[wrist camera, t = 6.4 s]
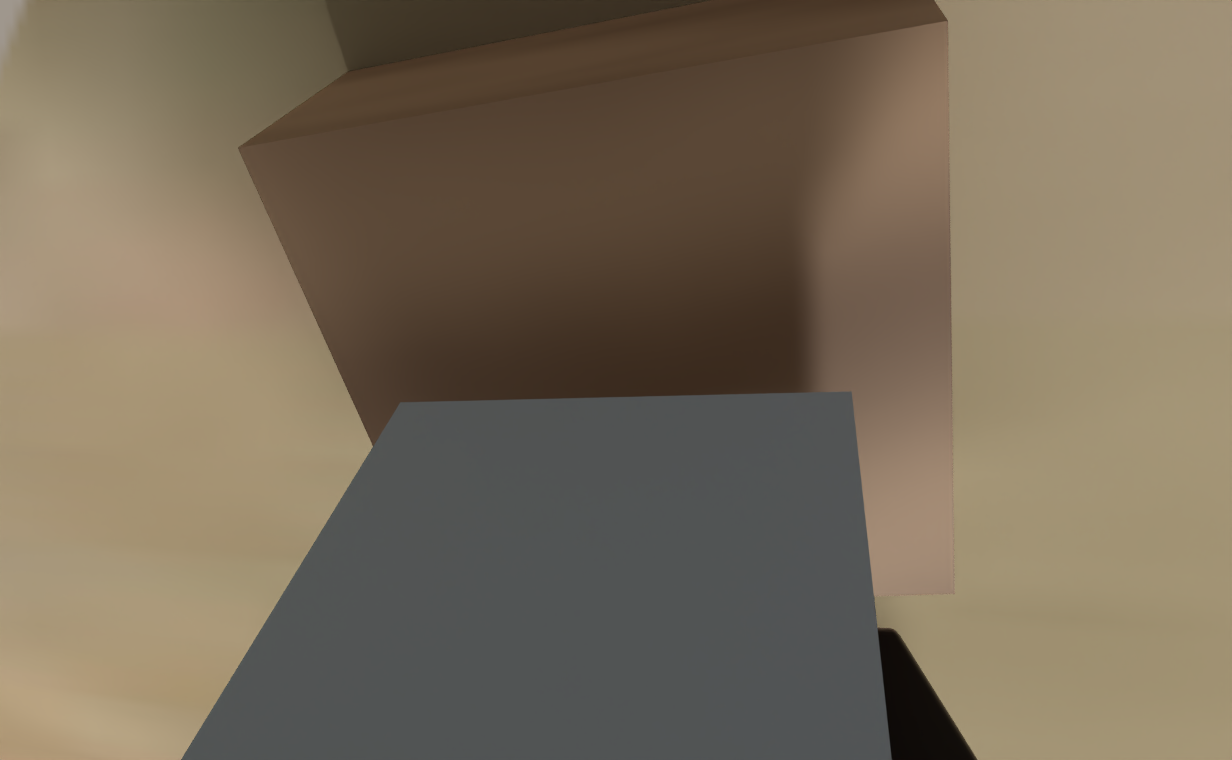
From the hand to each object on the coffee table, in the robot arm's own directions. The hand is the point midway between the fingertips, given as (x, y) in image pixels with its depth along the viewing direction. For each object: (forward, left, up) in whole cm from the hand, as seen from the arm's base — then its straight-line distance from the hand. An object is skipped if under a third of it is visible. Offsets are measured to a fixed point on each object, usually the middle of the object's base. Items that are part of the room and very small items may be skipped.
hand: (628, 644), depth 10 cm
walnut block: (+1, 0, -8) cm, 8 cm away
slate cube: (0, 0, -1) cm, 1 cm away
